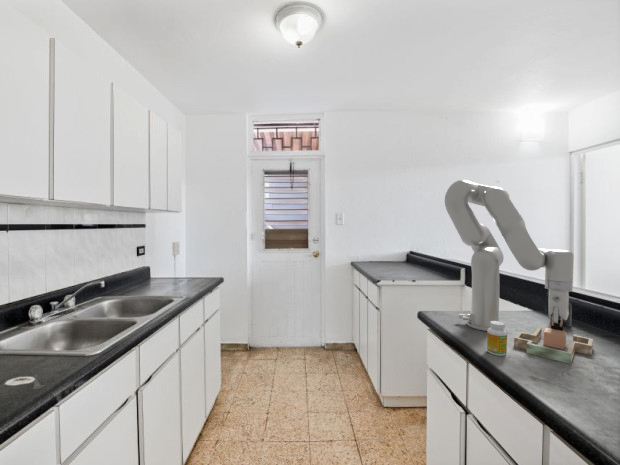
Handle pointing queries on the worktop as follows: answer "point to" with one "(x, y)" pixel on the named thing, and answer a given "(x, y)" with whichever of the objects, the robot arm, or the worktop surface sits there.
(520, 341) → the trap lane
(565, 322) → the supplement bottle
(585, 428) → the worktop surface
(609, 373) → the worktop surface
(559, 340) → the terracotta block
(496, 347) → the supplement bottle
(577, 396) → the worktop surface
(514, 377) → the worktop surface
